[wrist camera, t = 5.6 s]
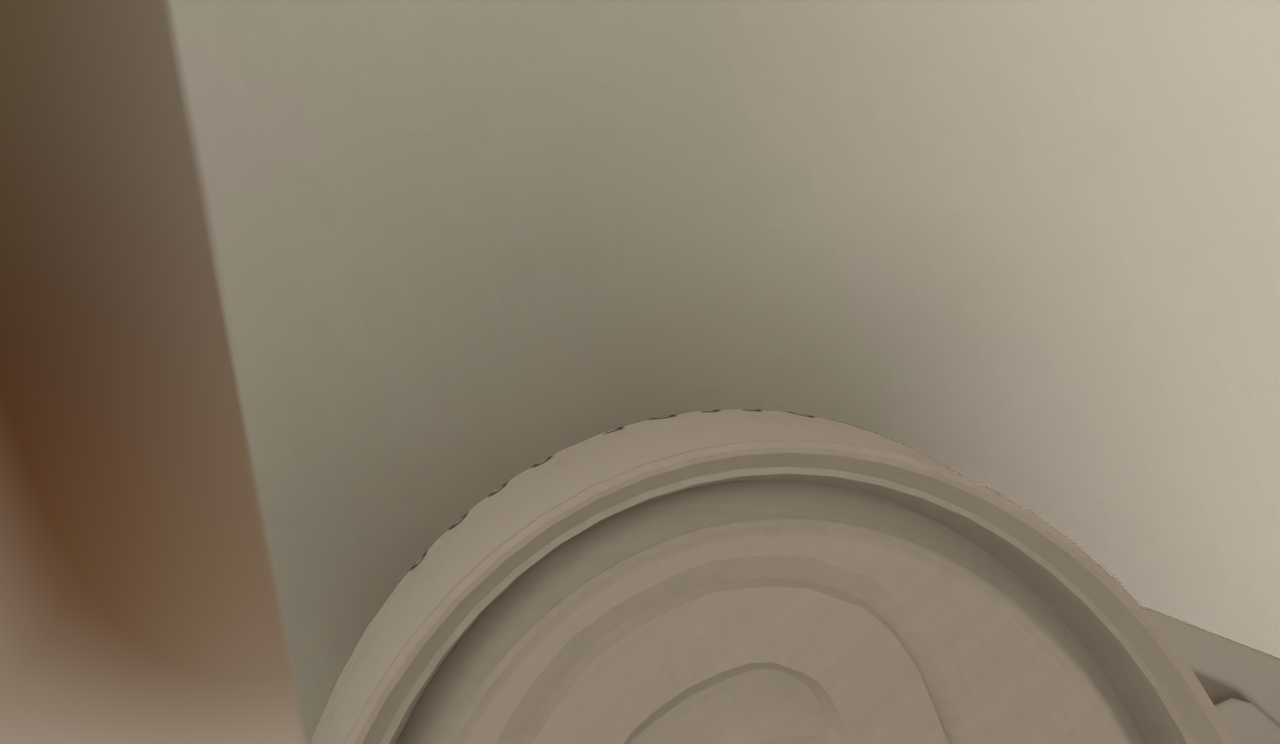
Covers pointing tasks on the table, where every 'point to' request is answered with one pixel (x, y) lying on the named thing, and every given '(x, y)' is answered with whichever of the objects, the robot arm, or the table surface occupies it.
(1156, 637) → the orange beverage can
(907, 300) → the table surface
